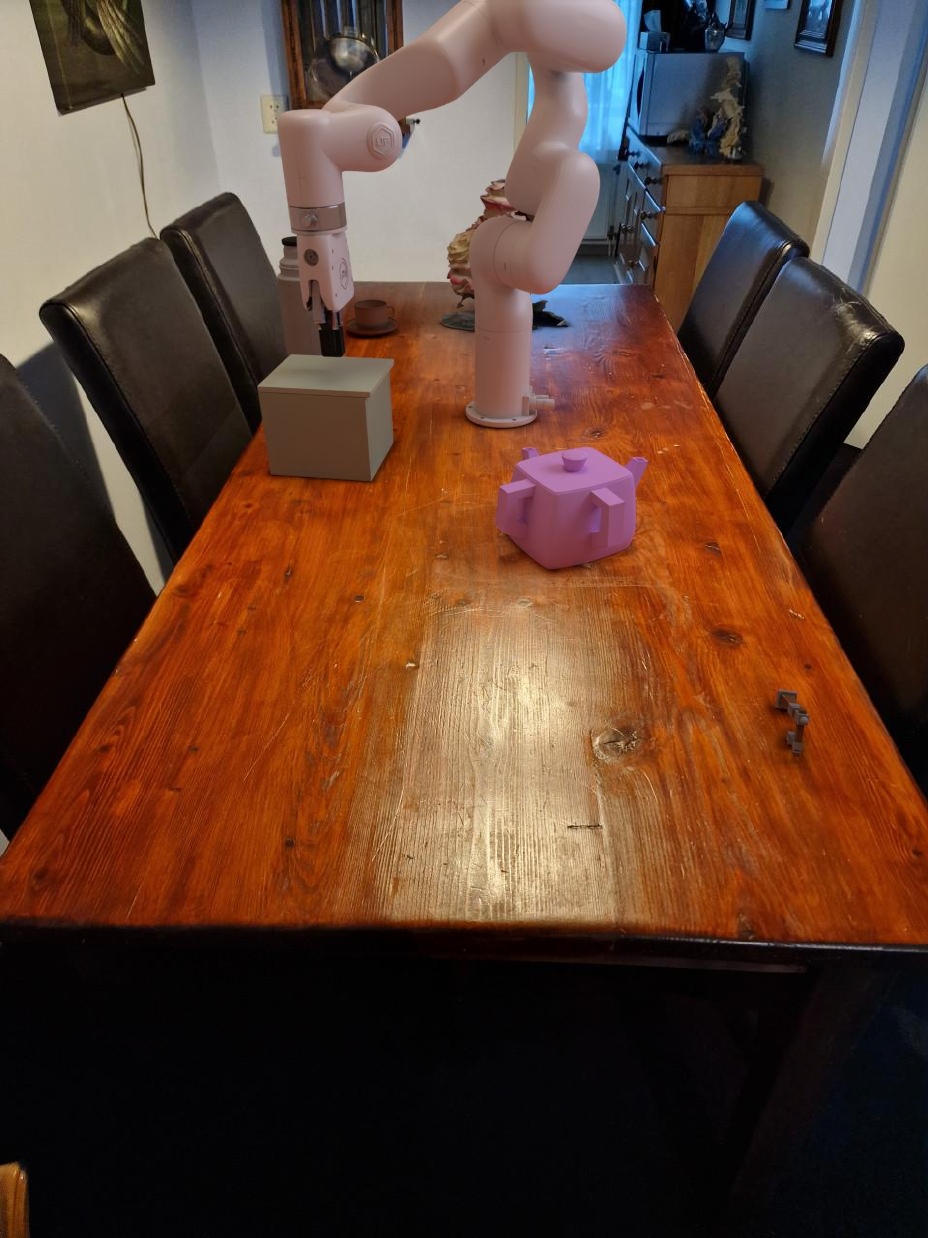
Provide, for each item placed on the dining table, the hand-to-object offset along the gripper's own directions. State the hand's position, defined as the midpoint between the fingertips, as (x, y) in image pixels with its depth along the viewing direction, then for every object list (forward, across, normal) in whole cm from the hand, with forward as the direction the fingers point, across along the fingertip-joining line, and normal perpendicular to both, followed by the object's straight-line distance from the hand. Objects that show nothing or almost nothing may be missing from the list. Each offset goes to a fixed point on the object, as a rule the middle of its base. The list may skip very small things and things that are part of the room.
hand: (333, 354), depth 120 cm
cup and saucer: (+17, +67, +13) cm, 71 cm away
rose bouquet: (+18, +79, -14) cm, 83 cm away
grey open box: (+16, -1, +2) cm, 16 cm away
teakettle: (+17, -21, -36) cm, 45 cm away
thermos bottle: (+17, +21, +12) cm, 30 cm away
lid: (+3, 0, +1) cm, 3 cm away
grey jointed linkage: (+17, -55, -59) cm, 82 cm away
